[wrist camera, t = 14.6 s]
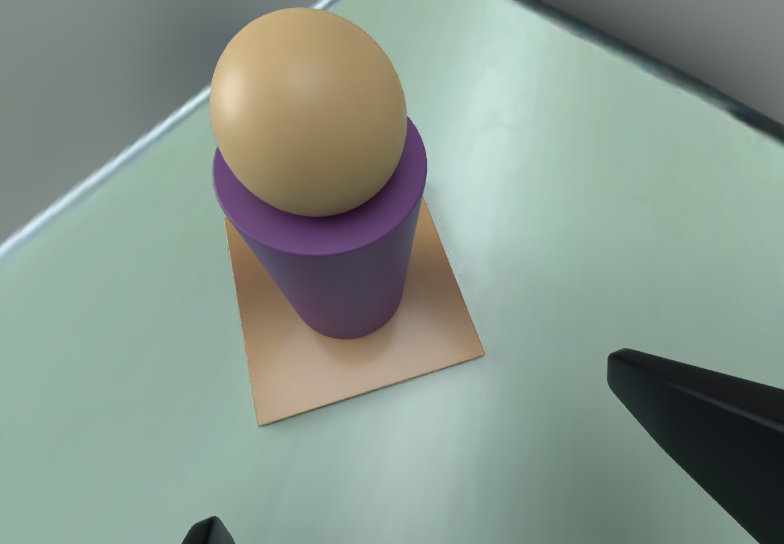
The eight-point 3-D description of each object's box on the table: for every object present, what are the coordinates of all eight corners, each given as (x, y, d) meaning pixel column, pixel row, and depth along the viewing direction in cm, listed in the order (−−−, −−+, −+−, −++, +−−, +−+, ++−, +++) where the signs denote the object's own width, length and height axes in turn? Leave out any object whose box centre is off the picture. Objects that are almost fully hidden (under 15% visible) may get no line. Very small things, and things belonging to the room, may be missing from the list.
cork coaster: (483, 356, 17) (485, 354, 16) (260, 426, 15) (257, 426, 15) (413, 177, 20) (414, 173, 20) (226, 221, 19) (223, 217, 18)
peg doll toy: (417, 320, 17) (501, 118, 6) (304, 354, 16) (137, 198, 5) (384, 223, 19) (398, -79, 7) (281, 249, 18) (119, -43, 7)
